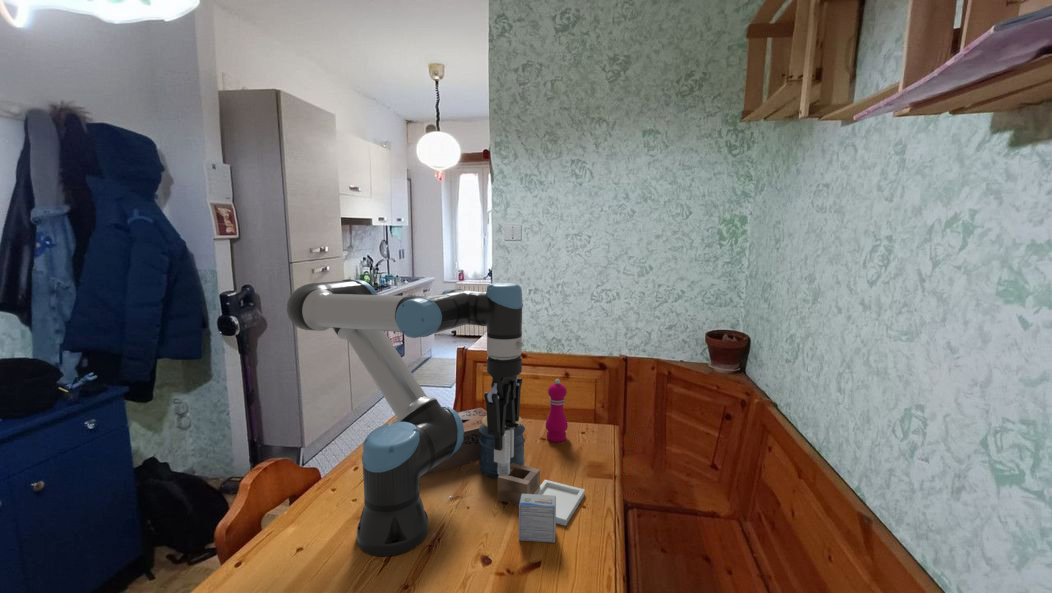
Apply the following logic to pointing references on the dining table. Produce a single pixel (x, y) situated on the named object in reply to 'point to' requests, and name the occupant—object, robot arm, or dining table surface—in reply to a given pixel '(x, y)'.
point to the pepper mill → (556, 413)
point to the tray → (562, 499)
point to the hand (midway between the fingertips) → (503, 458)
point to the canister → (487, 449)
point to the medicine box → (537, 518)
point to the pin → (505, 468)
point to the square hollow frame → (518, 483)
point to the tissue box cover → (465, 441)
